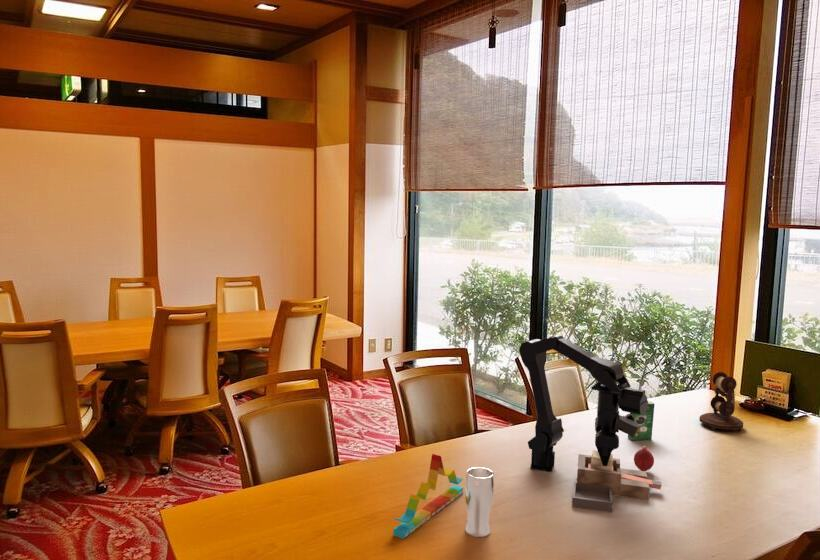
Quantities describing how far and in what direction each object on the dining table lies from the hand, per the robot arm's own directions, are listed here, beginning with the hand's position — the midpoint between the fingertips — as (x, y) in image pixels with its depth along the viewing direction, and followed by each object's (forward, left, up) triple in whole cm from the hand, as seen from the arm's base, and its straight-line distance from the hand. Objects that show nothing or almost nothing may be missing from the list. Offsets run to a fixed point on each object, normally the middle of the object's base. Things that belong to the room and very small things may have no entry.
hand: (604, 459), depth 187 cm
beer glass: (-30, -38, -8) cm, 49 cm away
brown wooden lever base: (+2, 0, -8) cm, 8 cm away
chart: (-43, -32, -8) cm, 54 cm away
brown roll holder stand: (+43, +68, -8) cm, 81 cm away
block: (-1, 0, -3) cm, 3 cm away
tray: (-3, -12, -8) cm, 14 cm away
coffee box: (+13, +44, -8) cm, 47 cm away
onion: (+12, +14, -8) cm, 20 cm away
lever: (+6, 0, -5) cm, 7 cm away
